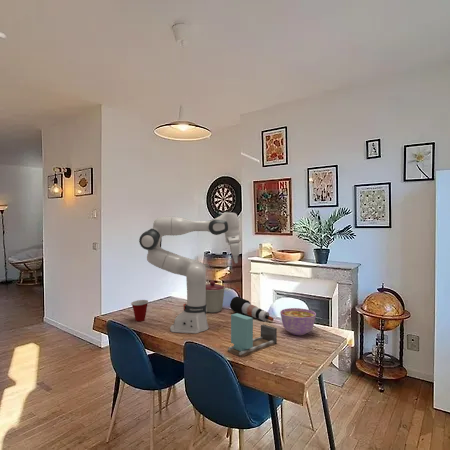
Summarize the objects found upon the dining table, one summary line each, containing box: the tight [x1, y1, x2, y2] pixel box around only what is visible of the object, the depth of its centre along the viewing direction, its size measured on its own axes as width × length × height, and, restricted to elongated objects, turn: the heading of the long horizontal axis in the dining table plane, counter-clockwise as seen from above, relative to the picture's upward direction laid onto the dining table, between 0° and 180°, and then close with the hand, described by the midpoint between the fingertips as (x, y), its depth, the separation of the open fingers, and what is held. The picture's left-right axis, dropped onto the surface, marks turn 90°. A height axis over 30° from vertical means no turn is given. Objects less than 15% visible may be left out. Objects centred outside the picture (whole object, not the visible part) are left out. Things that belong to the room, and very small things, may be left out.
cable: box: [229, 296, 274, 322], centre depth 222 cm, size 10×34×10 cm, turn 41°
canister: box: [206, 280, 226, 314], centre depth 237 cm, size 18×18×21 cm
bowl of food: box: [279, 307, 317, 336], centre depth 190 cm, size 20×20×12 cm
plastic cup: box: [130, 299, 149, 322], centre depth 214 cm, size 11×11×12 cm
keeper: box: [230, 312, 254, 351], centre depth 163 cm, size 5×11×16 cm, turn 42°
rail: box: [227, 324, 278, 358], centre depth 169 cm, size 26×9×8 cm, turn 132°
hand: (235, 261), depth 199 cm, fingers open, 8 cm apart
